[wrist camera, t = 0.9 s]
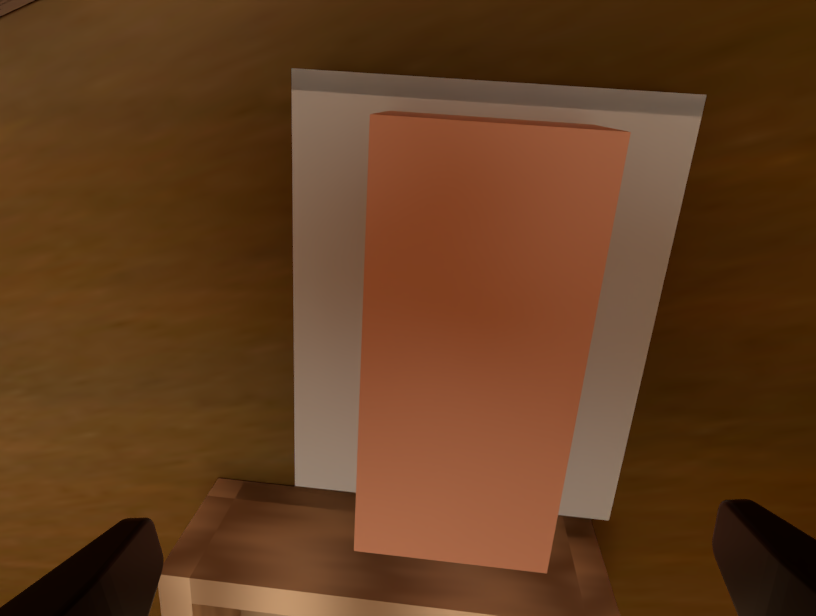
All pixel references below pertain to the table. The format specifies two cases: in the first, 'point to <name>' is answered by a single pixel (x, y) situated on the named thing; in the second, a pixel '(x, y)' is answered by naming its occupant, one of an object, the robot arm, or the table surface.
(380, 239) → the terracotta rectangular block
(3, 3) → the coffee box
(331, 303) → the book pile base
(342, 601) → the shelf tray
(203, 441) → the table surface
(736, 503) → the robot arm
